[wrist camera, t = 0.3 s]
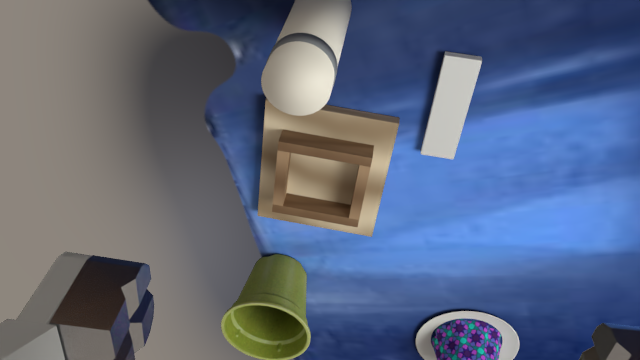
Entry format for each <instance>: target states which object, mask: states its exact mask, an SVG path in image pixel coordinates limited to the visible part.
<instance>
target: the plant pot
mask: <svg viewBox="0 0 640 360" xmlns="http://www.w3.org/2000/svg"><path fill="white" fill-rule="evenodd" d="M306 281H307V275H306V272H305V271H304V269H303V267H302V266H301V264H300V263H299V262H298V261H297V260H295V259H293V258H291V257H288V256H285V255H280V254H274V255H272V256H269V257H262V258H260V259H259V260H258V261H257V262H256V264H255V266H254V268H253V270H252V272H251V274H250V276H249V278H248V280H247V282H246V284H245V286H244V288H243V290H242V292H241V294H240V296H239V298H238V300H237V301H236V302H235V303H234V304H233V306H232V307H231V308H230V309H229V310H227V312H226V313H225V314H224V316H223V318H222V321H221V328H222V332H223V335H224V336H225V338H226V340H227V341H228V342H229V343H230V344H231V345H232V346H233V347H235V348H236V349H238V350H239V351H241V352H243V353H244V354H247V355H249V356H252V357H255V358H258V359H264V360H288V359H292V358H295V357H297V356H299V355H301V354H302V353H303V352H304V351H305V350H306V349H307V348H308V346H309V344H310V337H311V336H310V330H309V327H308V325H307V319H306Z"/></svg>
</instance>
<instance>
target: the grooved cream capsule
mask: <svg viewBox="0 0 640 360" xmlns="http://www.w3.org/2000/svg"><path fill="white" fill-rule="evenodd" d="M351 8H352V7H351V0H295V2H294V5H293V7H292V9H291V11H290V13H289V16H288V18H287V20H286V22H285V24H284V27H283V29H282V31H281V33H280V35H279V37H278V40H277V42H276V44H275V45H274V47H273V49H272V51H271V53H270V55H269V58H268V60H267V63H266V66H265V68H264V70H263V73H262V78H261V84H262V89H263V92H264V94H265V96H266V98H267V99H268V101H269V102H270V103H271V104H272V105H273V106H274V107H276V108H277V109H279V110H280V111H282V112H284V113H287V114H290V115H296V116H304V115H310V114H313V113H315V112H317V111H319V110H320V109H321V108H323V107H324V106H325V104H326V103H327V102H328V100H329V98H330V95H331V91H332V87H333V85H334V82H335V78H336V74H337V67H338V63H339V59H340V55H341V51H342V47H343V43H344V39H345V35H346V31H347V27H348V23H349V19H350V15H351Z"/></svg>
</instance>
